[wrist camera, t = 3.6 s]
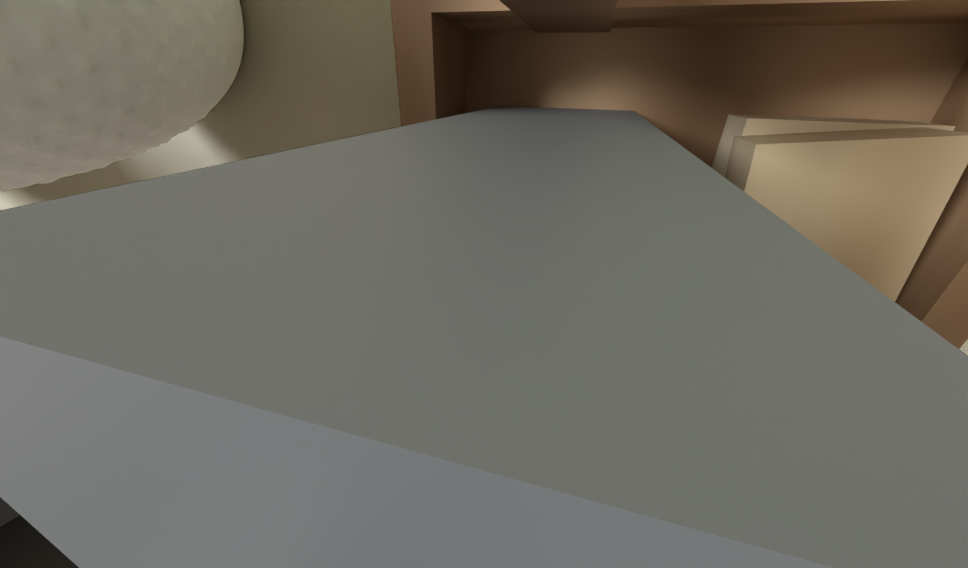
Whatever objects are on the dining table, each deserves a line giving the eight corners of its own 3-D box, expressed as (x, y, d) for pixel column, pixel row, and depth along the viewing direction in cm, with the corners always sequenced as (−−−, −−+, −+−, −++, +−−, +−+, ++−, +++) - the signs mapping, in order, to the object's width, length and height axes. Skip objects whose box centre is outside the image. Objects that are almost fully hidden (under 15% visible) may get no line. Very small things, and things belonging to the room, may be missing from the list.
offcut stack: (639, 379, 15) (647, 439, 12) (722, 113, 10) (764, 123, 7) (762, 404, 14) (799, 474, 11) (923, 121, 9) (1050, 135, 6)
